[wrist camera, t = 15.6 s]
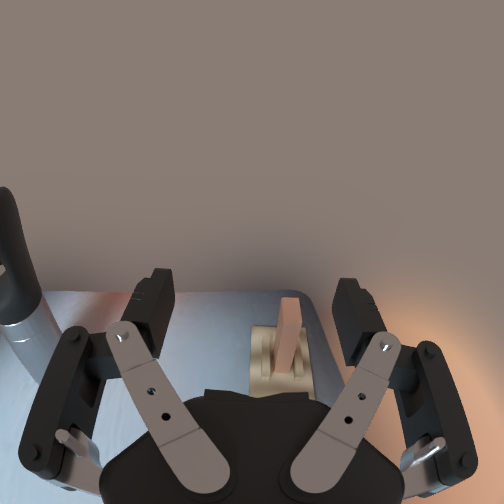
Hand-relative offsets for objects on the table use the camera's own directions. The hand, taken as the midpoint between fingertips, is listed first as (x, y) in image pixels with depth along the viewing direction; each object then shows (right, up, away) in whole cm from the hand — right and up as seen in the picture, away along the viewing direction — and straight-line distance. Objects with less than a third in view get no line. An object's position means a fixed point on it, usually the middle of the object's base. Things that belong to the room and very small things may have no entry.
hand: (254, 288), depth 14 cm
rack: (+5, -17, +32) cm, 37 cm away
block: (+5, -16, +32) cm, 36 cm away
